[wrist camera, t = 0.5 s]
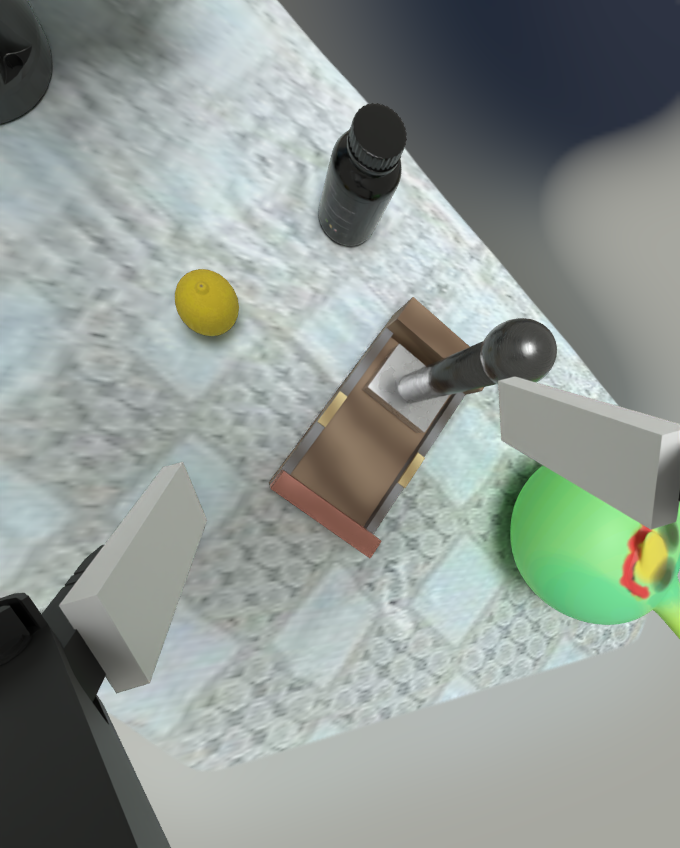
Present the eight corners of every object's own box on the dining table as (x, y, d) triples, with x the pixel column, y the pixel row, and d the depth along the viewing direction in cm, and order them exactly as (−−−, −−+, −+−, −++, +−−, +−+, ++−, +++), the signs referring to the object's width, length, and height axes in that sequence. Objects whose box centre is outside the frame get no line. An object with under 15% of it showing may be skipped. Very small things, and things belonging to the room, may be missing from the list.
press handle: (392, 348, 39) (521, 261, 20) (444, 391, 40) (612, 349, 21) (362, 389, 38) (467, 339, 19) (416, 432, 39) (566, 427, 20)
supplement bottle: (343, 179, 40) (379, 73, 29) (384, 223, 41) (435, 139, 30) (304, 215, 39) (324, 120, 27) (347, 260, 40) (384, 187, 28)
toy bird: (510, 432, 44) (631, 428, 30) (609, 476, 48) (760, 493, 33) (467, 569, 42) (575, 637, 28) (574, 606, 45) (719, 683, 31)
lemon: (251, 315, 37) (249, 282, 29) (219, 355, 36) (209, 332, 29) (206, 282, 36) (193, 239, 29) (173, 322, 35) (149, 289, 28)
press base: (392, 315, 41) (413, 296, 36) (466, 378, 43) (495, 369, 38) (269, 482, 37) (271, 489, 32) (356, 543, 39) (371, 560, 34)
